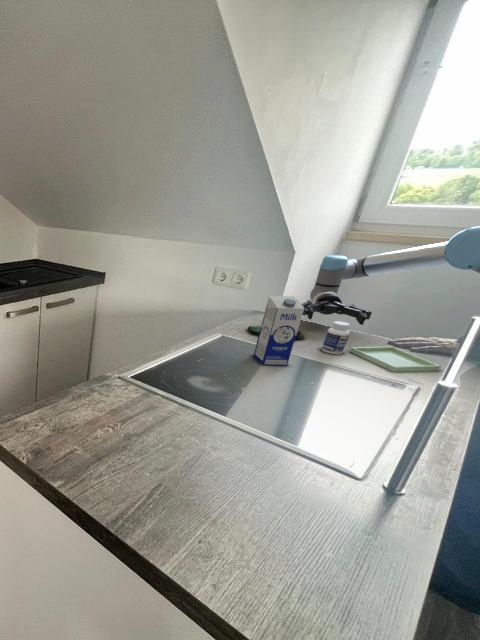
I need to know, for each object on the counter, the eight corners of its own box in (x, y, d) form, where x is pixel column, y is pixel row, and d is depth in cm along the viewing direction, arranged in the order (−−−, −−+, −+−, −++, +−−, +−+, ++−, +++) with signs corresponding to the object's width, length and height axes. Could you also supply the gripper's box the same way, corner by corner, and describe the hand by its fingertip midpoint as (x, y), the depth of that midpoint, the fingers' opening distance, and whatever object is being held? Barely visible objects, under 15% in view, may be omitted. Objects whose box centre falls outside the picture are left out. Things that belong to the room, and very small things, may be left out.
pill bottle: (336, 355, 123) (346, 326, 119) (317, 350, 128) (327, 321, 124) (346, 352, 125) (356, 324, 121) (327, 347, 130) (337, 319, 126)
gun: (254, 334, 139) (247, 325, 147) (253, 337, 139) (246, 328, 148) (307, 338, 134) (298, 328, 142) (306, 342, 134) (297, 332, 143)
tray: (439, 370, 112) (441, 366, 111) (392, 371, 112) (394, 367, 111) (390, 350, 126) (392, 346, 125) (349, 351, 126) (351, 347, 125)
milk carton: (276, 356, 124) (294, 295, 115) (287, 365, 117) (307, 301, 109) (252, 356, 125) (268, 295, 116) (262, 364, 119) (279, 301, 110)
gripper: (366, 316, 142) (381, 334, 125) (284, 308, 154) (288, 323, 137) (374, 296, 139) (390, 311, 122) (289, 289, 151) (294, 302, 134)
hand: (336, 318), depth 130 cm, fingers open, 13 cm apart
